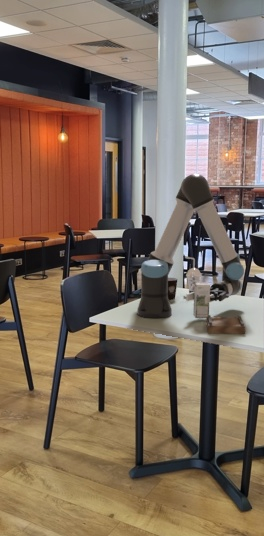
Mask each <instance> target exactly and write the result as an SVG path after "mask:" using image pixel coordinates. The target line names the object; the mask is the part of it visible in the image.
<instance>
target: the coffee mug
mask: <svg viewBox="0 0 264 536" xmlns="http://www.w3.org/2000/svg"><path fill="white" fill-rule="evenodd" d="M177 284H178V278H177V277H168V299H169V301H172V300H175V299H176V294H177Z"/></svg>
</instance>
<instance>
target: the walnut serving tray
mask: <svg viewBox="0 0 264 536" xmlns="http://www.w3.org/2000/svg"><path fill="white" fill-rule="evenodd" d="M205 319H206V322H205V324H206V329H207V334H224V335H225V334H226V335H227V334H228V335H246V324H245V323H244V320H243V317H242V316H241V315H237V317H234V316H233V317H232V316H225V317H224V316H211V315H210V314H209V315H208V317H206V318H205Z"/></svg>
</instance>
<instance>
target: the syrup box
mask: <svg viewBox="0 0 264 536" xmlns="http://www.w3.org/2000/svg"><path fill="white" fill-rule="evenodd" d="M210 287H211V284H210V283H209V282H207V281H205V282H204V281H202V282H201V281H200V282H195V283H194V299H193V317H194V318H195V319H206V317H208V315H210V302H209V303H207V304H205V297H206V296H209V295H210Z"/></svg>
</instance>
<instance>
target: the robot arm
mask: <svg viewBox="0 0 264 536" xmlns="http://www.w3.org/2000/svg"><path fill="white" fill-rule="evenodd" d="M209 185H210V184H209V181H208V179H207V178H206V177H204V175H201V174H199V173H198V174H197V173H193V174H189V175H187V176H186V177H185V178H184V179H183V180H182V181H181V185H180V187H179V190H178V192H177V194H176V196H175V200H176V205H175V207H174V209H173V211H172V213H171V215H170V218H169V219H168V222H167V224H166V226H165V228H164V231H163V233H162V235H161V237H160V239H159V242H158V244H157V246H156V248H155V250H153V251H151V252H150V254H149V256H148V258H147V260H144V261H143V262H142V263H141V267H140V272H141V274H140V275H141V280H140V281H141V282H140V284H141V285H140V286H141V288H140V289H141V290H140V291H141V296H140V300H139V304H138V307H137V316H139V317H142V318H147V319H148V318H149V319H160V318H161V319H162V318H169V317H171V316H172V311H173V310H172V306H171V303H170V300H169V299H168V278H169V274H170V272H171V270H172V267H173V266H174V264H175V263H174V260H173V259H174V255H175V254H176V251H177V250H178V249H177V248H178V247H179V245H180V242H181V240H182V238H183V236H184V235H185V232H186V230H187V227H188V225H189V223H190V221H191V219H192V216H193V215H194V212H195V211H196V213H197V215H198V217H199V218H200V220H201V223H202V225H203V227H204V230H205V231H206V233H207V235H208V237H209V241H210V242H211V244H212V247H213V248H214V250H215V253H216V254H217V257H218V259H219V262H220V264H221V266H222V278H221V281H218V282H214V283H213V284H212V285H210V295H209V296H206V297H205V304H207V303H209V304H210V303H212V302H217V301H218V302H223V301H224V300H225V299H228V298H230V297H232V296H235V295H236V294H238V293H240V291H241V290H242V288H243V284H242V281H241V280H240V279H242V278H243V276H244V274H245V268H244V266H243V265H242V263H241V259H240V254H239V253H237V252H236V250H235V248H234V245H233V244H232V241H231V239H230V237H229V235H228V233H227V231H226V228H225V226H224V224H223V222H222V219H221V216H220V215H219V213H218V211H217V209H216V207H215V205H214V201H215V198H214V196H213V194H212V192H211V188H210V186H209ZM185 296H186V297H185V298H186V299H185V301H186V302H188V301H189V302H190V301H192V300H194V290H191V291H189V290H188V293H186V295H185Z"/></svg>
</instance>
